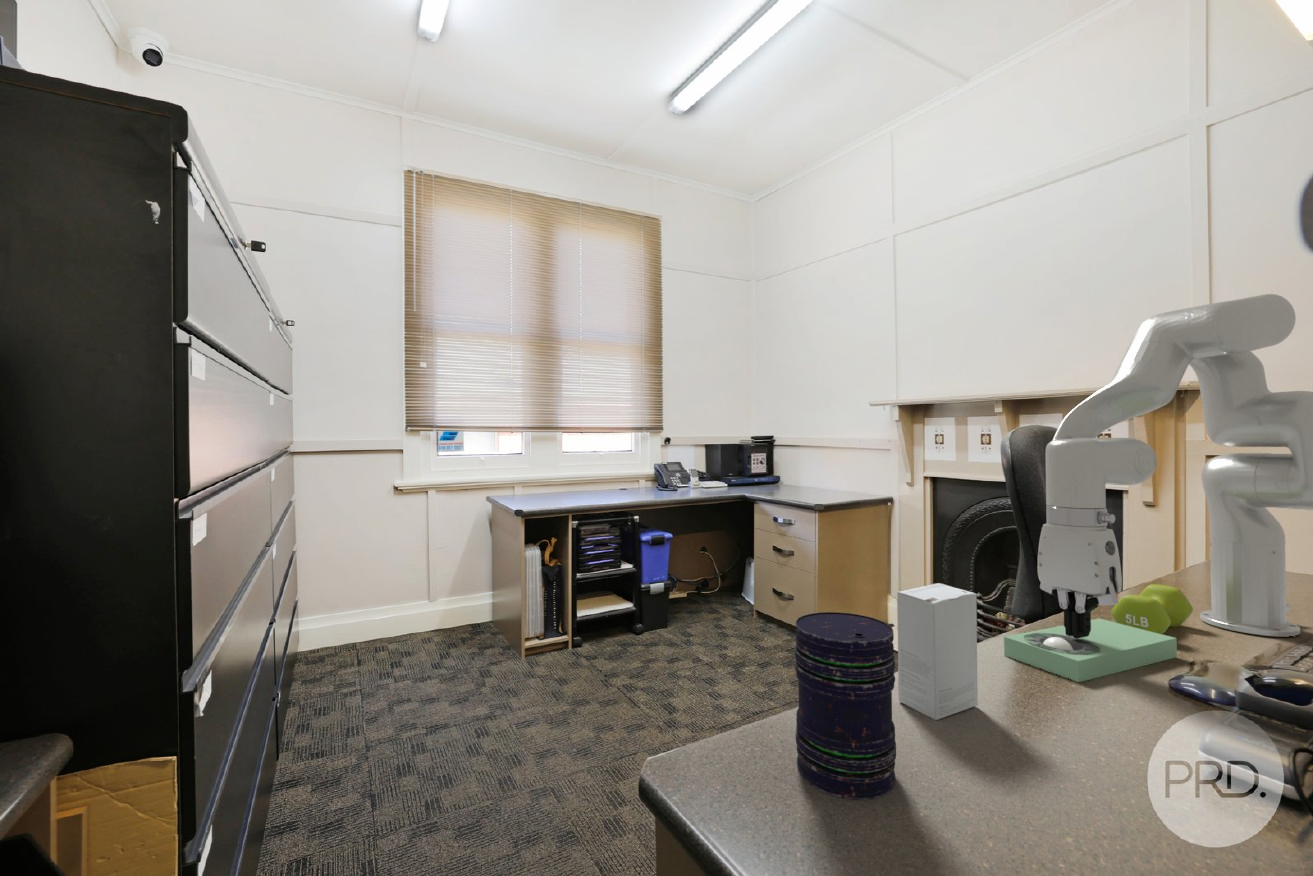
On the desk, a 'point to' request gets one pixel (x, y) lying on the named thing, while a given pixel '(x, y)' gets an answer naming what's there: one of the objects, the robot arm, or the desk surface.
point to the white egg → (1058, 643)
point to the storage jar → (845, 704)
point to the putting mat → (1091, 650)
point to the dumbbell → (1153, 609)
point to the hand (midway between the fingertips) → (1077, 635)
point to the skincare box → (937, 649)
